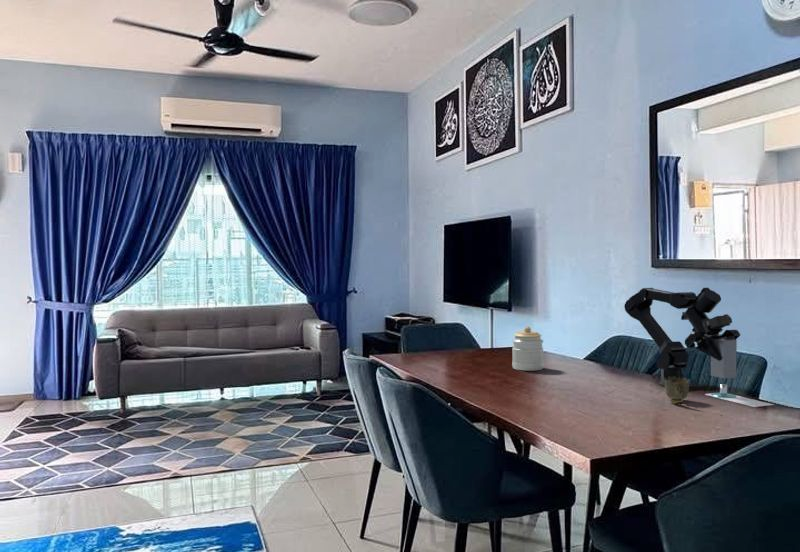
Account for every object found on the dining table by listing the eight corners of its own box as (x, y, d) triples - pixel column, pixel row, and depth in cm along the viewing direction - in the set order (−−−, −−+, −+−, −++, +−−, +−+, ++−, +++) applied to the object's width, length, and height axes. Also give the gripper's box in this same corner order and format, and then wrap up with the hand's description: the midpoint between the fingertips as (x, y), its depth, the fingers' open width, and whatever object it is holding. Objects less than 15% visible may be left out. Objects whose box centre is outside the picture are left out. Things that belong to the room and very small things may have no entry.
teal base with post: (706, 397, 202) (706, 383, 202) (723, 395, 204) (723, 382, 204) (724, 402, 195) (724, 387, 195) (741, 400, 197) (741, 386, 197)
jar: (546, 371, 253) (546, 328, 253) (515, 371, 253) (514, 328, 253) (539, 365, 266) (539, 325, 266) (509, 366, 266) (509, 325, 266)
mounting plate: (704, 397, 202) (704, 394, 202) (723, 395, 205) (723, 392, 205) (754, 410, 184) (754, 406, 184) (774, 407, 187) (774, 404, 187)
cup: (678, 407, 188) (678, 381, 188) (658, 402, 195) (658, 377, 195) (695, 404, 192) (695, 379, 192) (674, 400, 198) (674, 375, 198)
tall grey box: (710, 375, 201) (710, 338, 201) (723, 374, 203) (723, 338, 202) (723, 378, 196) (724, 340, 196) (736, 377, 198) (736, 340, 198)
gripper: (691, 307, 200) (718, 345, 189) (736, 305, 206) (764, 342, 195) (673, 328, 207) (698, 366, 197) (716, 326, 213) (743, 363, 203)
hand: (727, 359), depth 198 cm, fingers closed on tall grey box, 5 cm apart
